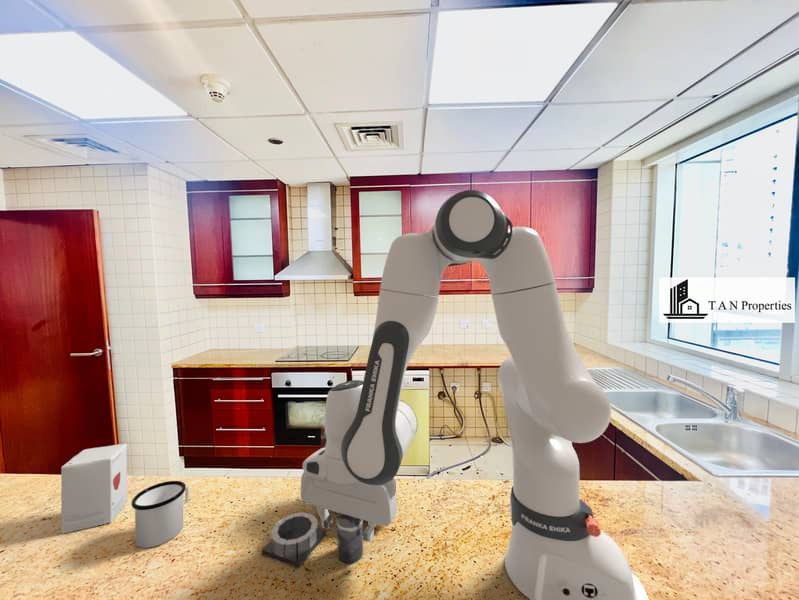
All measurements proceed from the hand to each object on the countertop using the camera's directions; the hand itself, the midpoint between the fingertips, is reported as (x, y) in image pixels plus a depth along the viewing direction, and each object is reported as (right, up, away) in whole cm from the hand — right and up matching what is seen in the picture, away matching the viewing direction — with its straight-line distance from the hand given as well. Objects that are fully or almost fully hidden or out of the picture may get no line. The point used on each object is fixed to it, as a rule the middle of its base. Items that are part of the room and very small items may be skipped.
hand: (347, 532), depth 62 cm
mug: (-42, -5, +7) cm, 43 cm away
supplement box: (-61, -5, +12) cm, 63 cm away
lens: (+1, -4, 0) cm, 4 cm away
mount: (-11, -5, +3) cm, 13 cm away
